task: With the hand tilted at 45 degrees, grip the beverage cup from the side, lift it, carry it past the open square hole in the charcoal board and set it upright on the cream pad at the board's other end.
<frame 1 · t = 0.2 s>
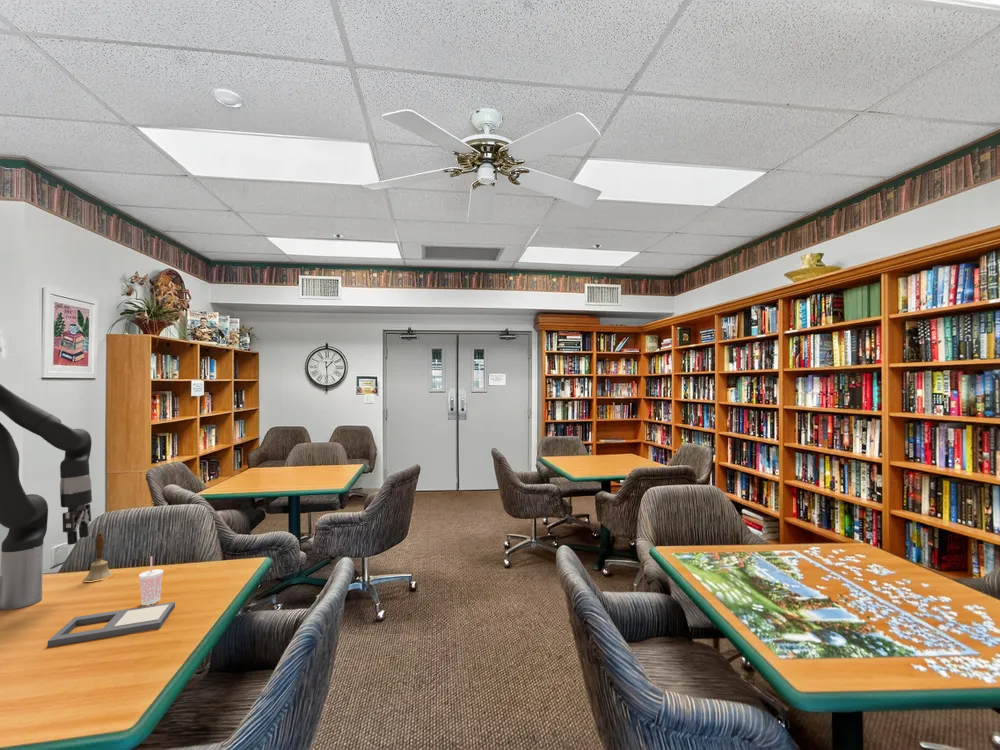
hand: (78, 540, 150), 18 cm above the table, tool pointing down, fingers open, 8 cm apart
hole board: (116, 625, 129), on the table
beverage cup: (150, 603, 144), on the table
hand bell: (98, 578, 164), on the table
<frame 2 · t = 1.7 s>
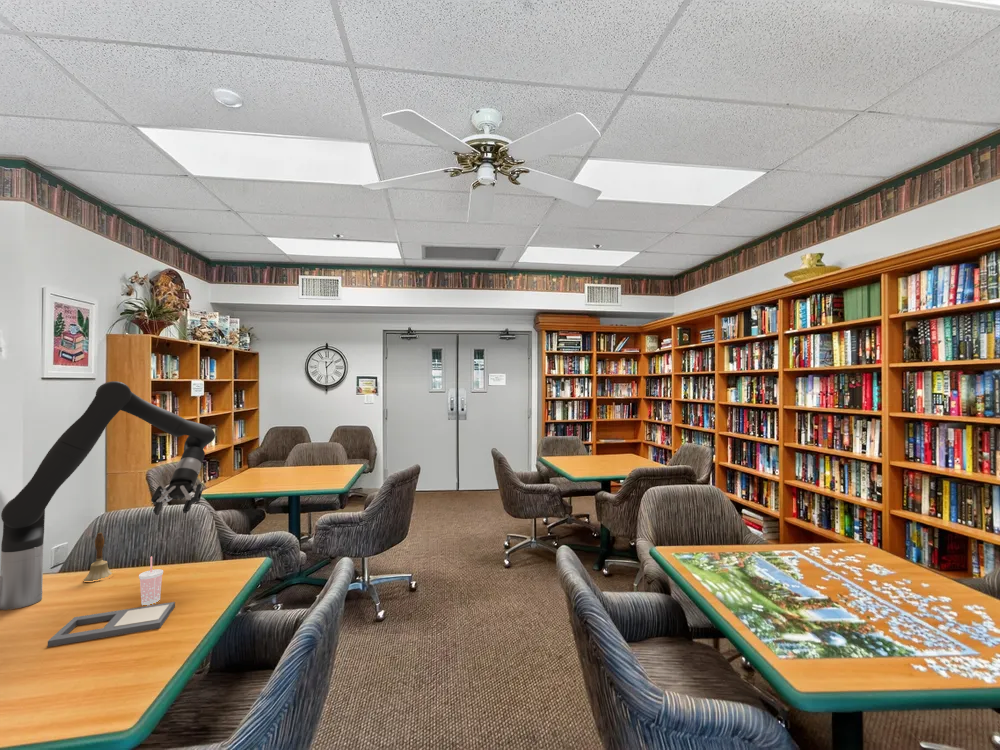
hand: (170, 512, 156), 25 cm above the table, tool tilted 45°, fingers open, 8 cm apart
nothing on the table moved.
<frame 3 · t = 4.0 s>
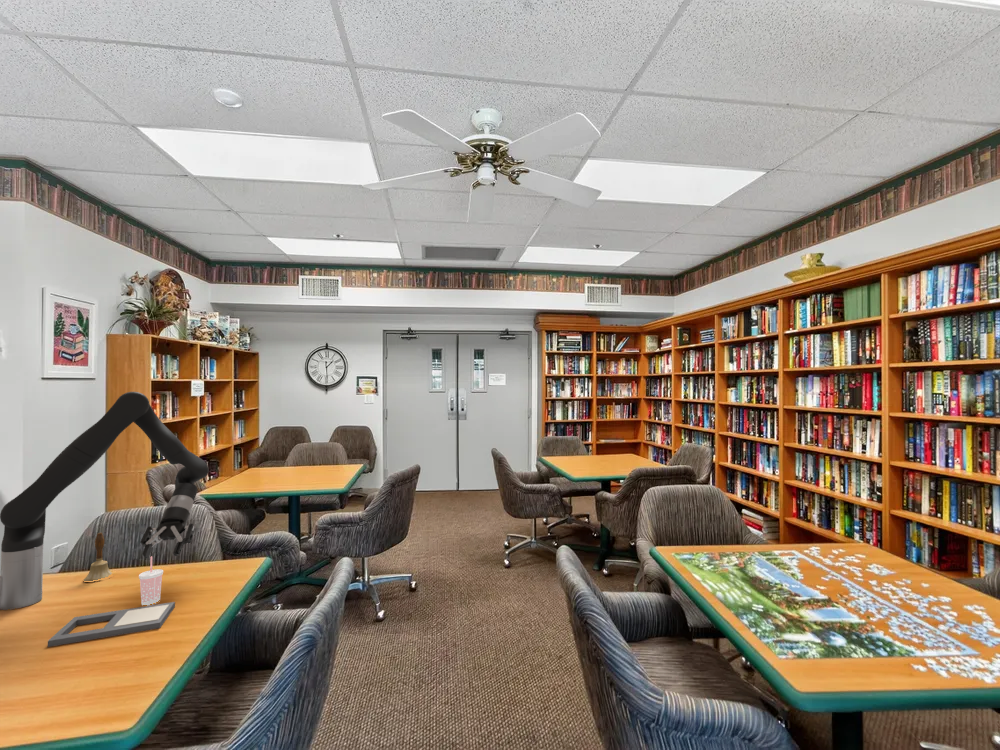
hand: (160, 556, 149), 12 cm above the table, tool tilted 45°, fingers open, 8 cm apart
nothing on the table moved.
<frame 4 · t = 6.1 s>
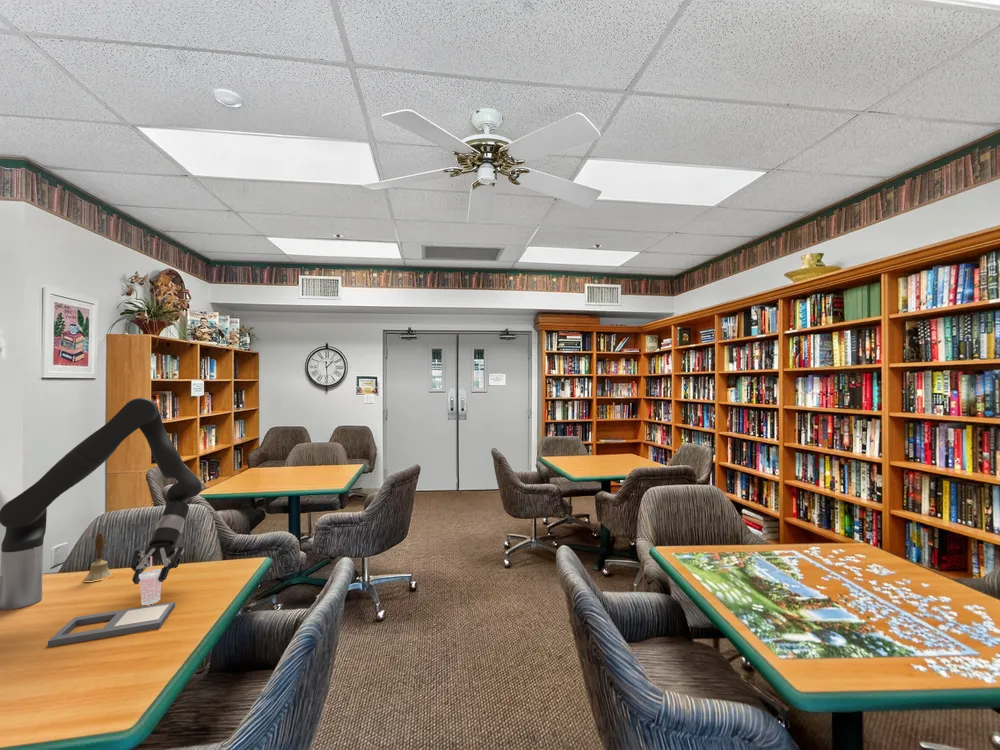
hand: (148, 581, 142), 7 cm above the table, tool tilted 45°, fingers closed on beverage cup, 6 cm apart
beverage cup: (150, 602, 144), on the table, touching gripper
everything else where it was.
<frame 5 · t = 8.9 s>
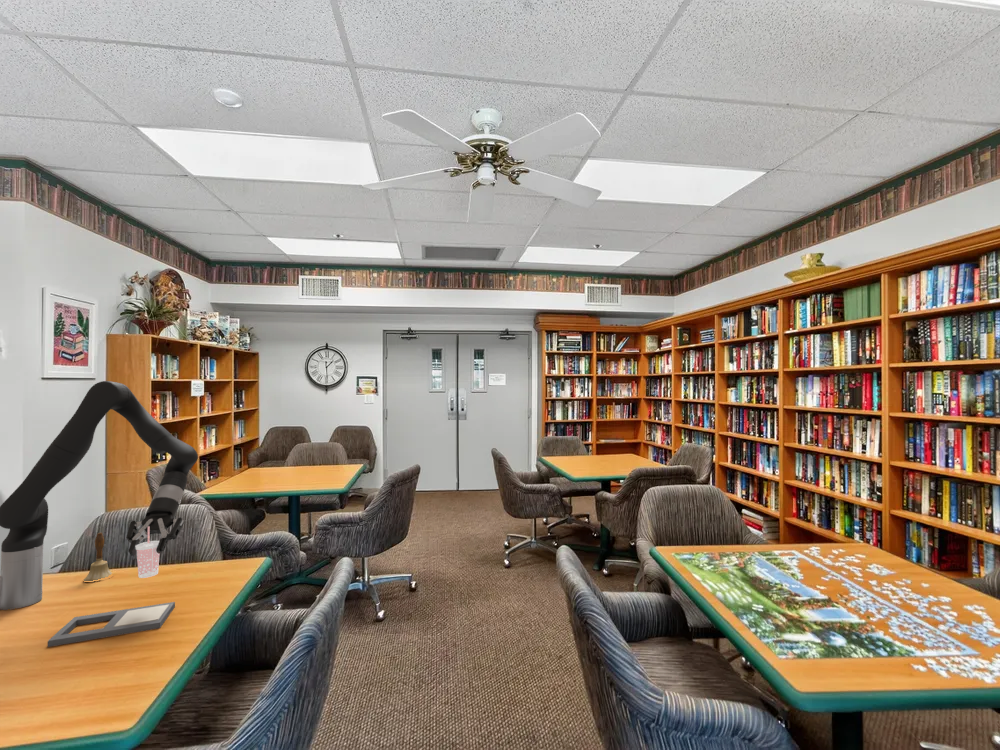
hand: (145, 553, 134), 18 cm above the table, tool tilted 45°, fingers closed on beverage cup, 6 cm apart
beverage cup: (148, 575, 136), point 11 cm above the table, touching gripper
everything else where it was.
when the fingers open (10 cm above the table, at t = 11.8 s): beverage cup drops 1 cm, resting on hole board.
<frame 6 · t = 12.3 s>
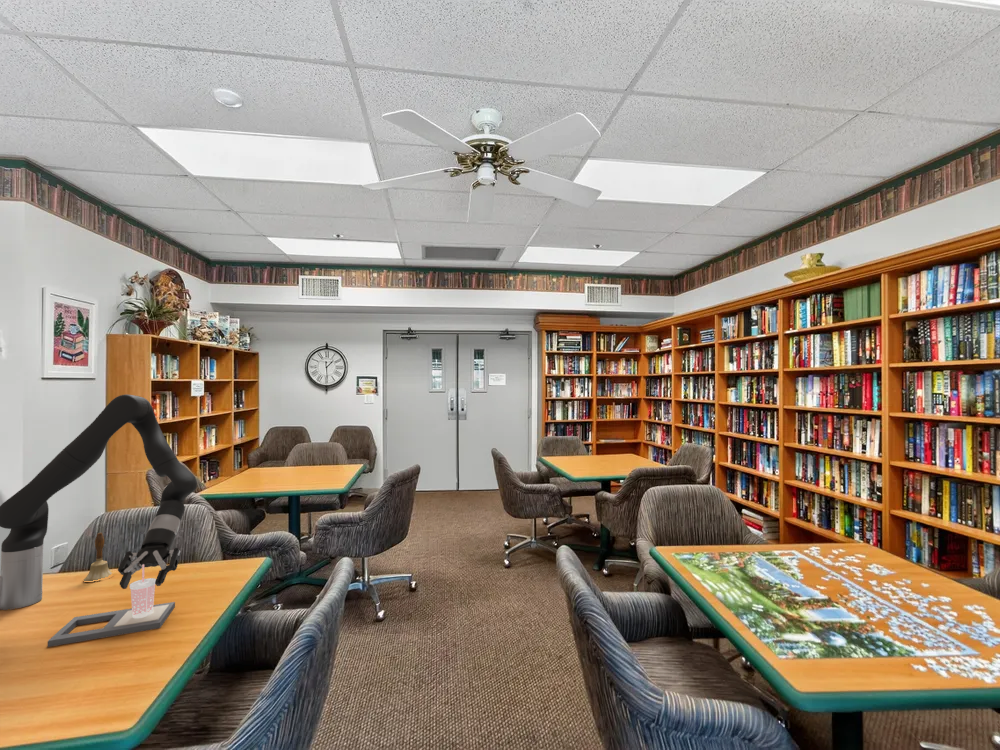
hand: (140, 586, 130), 10 cm above the table, tool tilted 45°, fingers open, 8 cm apart
beverage cup: (142, 615, 132), point 2 cm above the table, touching hole board
everything else where it was.
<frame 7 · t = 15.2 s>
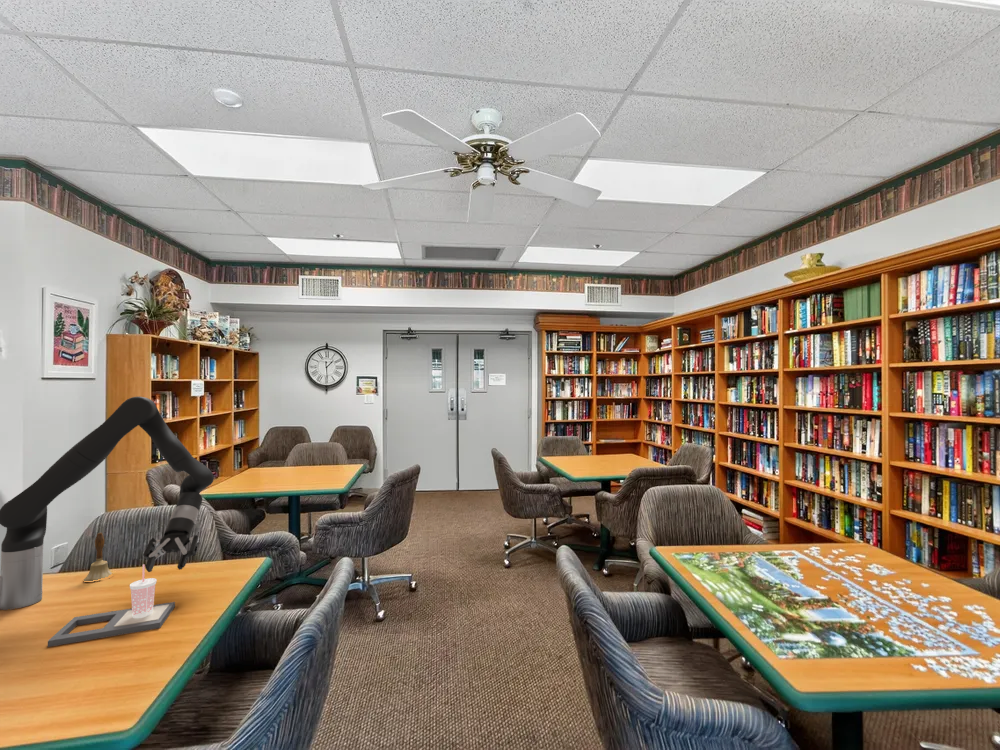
hand: (164, 569, 143), 10 cm above the table, tool tilted 45°, fingers open, 8 cm apart
nothing on the table moved.
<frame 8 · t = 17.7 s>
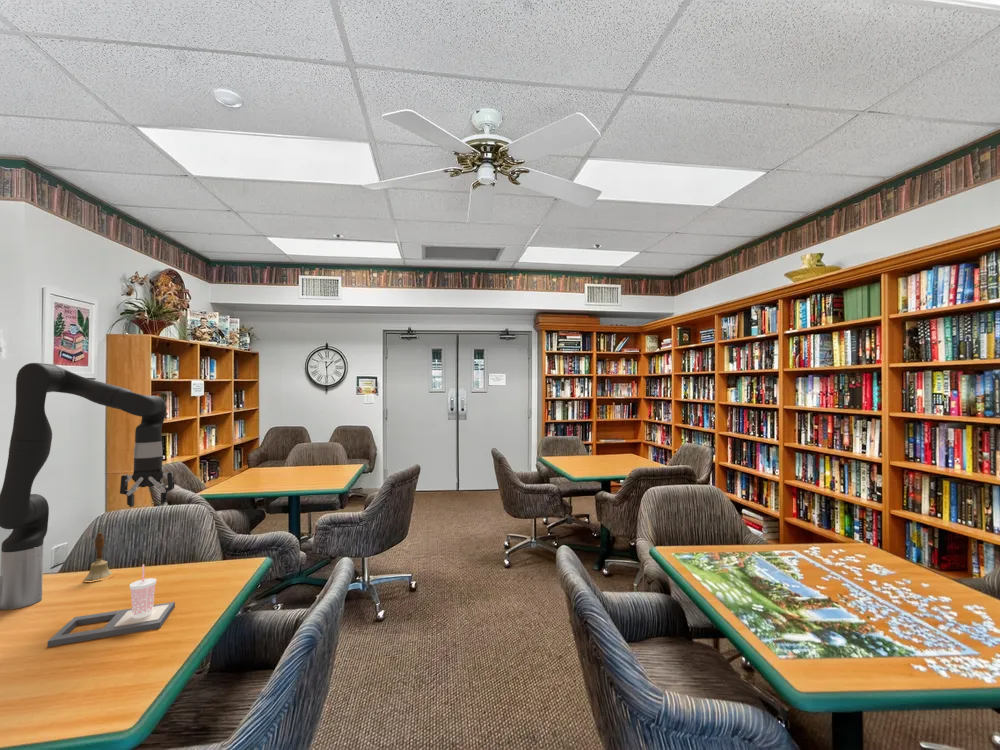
hand: (147, 505, 153), 28 cm above the table, tool pointing down, fingers open, 8 cm apart
nothing on the table moved.
at the end: beverage cup inside the target area on the hole board (0.2 cm from its centre), point 1.5 cm above the hole board's base; beverage cup tilted 0° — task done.
